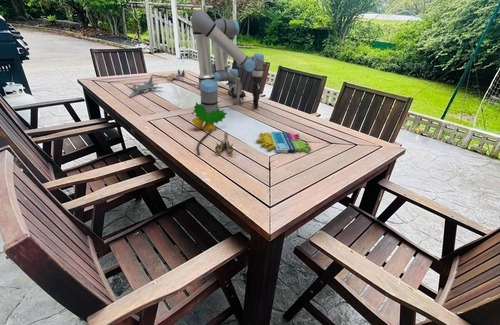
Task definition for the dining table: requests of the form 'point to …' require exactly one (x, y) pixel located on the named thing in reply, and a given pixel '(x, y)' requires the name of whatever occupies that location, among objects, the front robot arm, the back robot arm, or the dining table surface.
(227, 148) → the jawbone
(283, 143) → the packaged fuzzy gloves
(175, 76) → the toy
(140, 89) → the airplane
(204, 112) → the ornament
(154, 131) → the dining table surface
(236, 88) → the bottle
